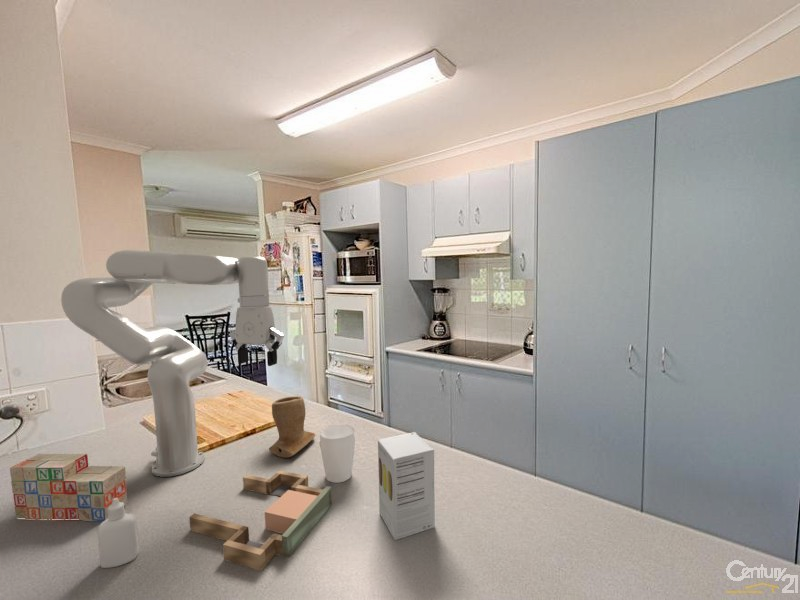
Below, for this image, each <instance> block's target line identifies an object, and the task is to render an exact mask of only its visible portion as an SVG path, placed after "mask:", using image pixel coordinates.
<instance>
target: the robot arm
mask: <svg viewBox="0 0 800 600" xmlns="http://www.w3.org/2000/svg"><path fill="white" fill-rule="evenodd" d="M105 266H106V270H107V272H108V274H109V275H110V276H111V277H86V278H85V277H84V278H80V279H77V280H74V281H71V282H70V283H68V284H67V285H66V286H65V287H64V288H63V290H62V292H61V297H60V298H61V299H60V302H61V306H62V310H63V312H64V315H66V318H67V319H68V320H69V321H70V322H71V323H73V325H75V326H76V327H77V328H79V329H80V330H82V331H83V332H84V333H86V334H88V335H90V336H91V337H92V338H95V339H96V340H97V341H98V342H101V343H102V344H103V345H104V346H105V347H106V348H108V349H110V350H111V351H113V352H114V353H115V354H117V355H118V356H119V357H121V358H122V359H124V360H125V361H127V362H128V363H130V364H133V365H136V366H139V365H140V366H141V365H146V364H148V363H152V364H151V365H150V366H149V368H148V371H147V382H148V385H149V389H150V392H151V395H152V402H153V411H154V422H155V423H154V424H155V435H156V436H155V437H156V447H155V450H152V451H151V453H150V455H151V456H152V457H155V459H156V462H154V463H153V465H152V466H151V472H152V474H153V476H155V477H159V476H160V477H161V478H166V477H169V478H170V477H174V476H179V475H183V474H186V473H188V472H191V471H193V470H194V469H196V468H198V467H200V466H201V465H202V463H203V462H204V461H205V454H204V452H203V451H201V452H199V453H198V451H199V446H198V434H197V432H198V431H197V430H198V429H197V418H196V403H195V397H194V392H193V391H192V389H191V387H190V382H192V381H193V380H195V379H197V378H198V377H200V376H202V375H203V374H204V373H205V372H206V370H207V369H208V363H209V362H208V358H207V355H206V354H205V353H204V351H202V350H201V349H200V348H199V347H198V346H196V345H195V344H194V343H192V341H189V340H188V339H186V338H185V337H184V336H183V335H181V334H180V333H178V332H177V331H176V330H174V329H172V328H170V327H167V326H163V325H162V326H161V325H157V326H156V325H155V326H152V327H142V326H141V325H139V324H137V323H135V322H133V321H132V319H130V318H128V317H127V316H125V314H121V313H119V312H116V311H115V310H112V309H110V308H115V307H122V306H126V305H128V304H130V303H131V302H133V301H134V300H135V299H137V298H138V297H139V296H141V294H142V293H144V292H145V291H146V290H147V289H149V288H150V287H151V286H152V285H153V284H167V285H169V284H171V285H174V284H181V285H184V284H186V285H203V286H221V285H234V284H238V294H239V296H238V298H237V303H239V307H237V309H236V315H235V329H234V330H232V332H230V333H229V337H230V339H231V341H232V344H233V345H234V346H235V350H237V356H238V357H237V359H238V361H237V362H238V365H243V364H245V363H248V362H249V348H248V347H247V346H248V345H252V346H255V345H256V346H261V345H264V346H265V347H266V349H267V350H268V351H266V359H267V366H268V367H271V366H275V365H277V364H278V351H277V350H279V348H280V347H281V345H282V344H283V341H284V338H285V334H284V333H283V332H280V331H279V330H277V329H276V324H275V318H274V314H273V311H272V310H273V309H272V307H271V306H270V294H269V292H270V291H269V290H270V289H269V271H268V261H267V259H266V258H265V257H263V256H242V257H232V256H224V255H223V256H222V255H209V254H188V253H187V254H185V253H184V254H183V253H176V252H172V251H155V250H154V251H153V250H152V251H151V250H150V251H149V250H131V249H127V250H123V249H122V250H119V251H115V252H114V253H112V254H110V255H109V256H108V258H107V259H106V263H105ZM200 464H201V465H200Z"/></svg>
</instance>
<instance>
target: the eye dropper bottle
mask: <svg viewBox="0 0 800 600" xmlns="http://www.w3.org/2000/svg"><path fill="white" fill-rule="evenodd" d="M125 507H126V506H125ZM125 507H124V503H123V502H119V500H118V498H114V499H113V503H112V505H111V506H109V507H108V519H106V520H105V521H101V523H100V525H99V526H98V529H97V539H98V540H97V541H98V550H99V551H98V553H99V563H100V567H101V568H102V569H107V568H114V567H119V566H122V565H125V564H127V563H129V562H132V561H134V560H135V559H136V558H137V557H138V555H139V552H140V546H139V533H138V532H139V531H138V521H137V516H136V515H135V514H133V513H126V509H125Z"/></svg>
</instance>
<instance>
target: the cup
mask: <svg viewBox="0 0 800 600" xmlns="http://www.w3.org/2000/svg"><path fill="white" fill-rule="evenodd" d="M319 437H320V438H319V447H320V448H319V449H320V452H321V459H322V463H323V469H324V474H325V479H326V480H327V481H328V482H331V483H335V484H336V483H337V484H338V483H342V482H345V481H348V480H349V479H350V478H351V477H352V475H353V465H354V456H355V448H356V447H355V445H356V437H355V428H354V427H353V426H352V425H349V424H339V423H337V424H331V425H329V426H325V427H324V428H322V429H321V430H320V434H319Z"/></svg>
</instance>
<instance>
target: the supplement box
mask: <svg viewBox="0 0 800 600" xmlns="http://www.w3.org/2000/svg"><path fill="white" fill-rule="evenodd" d="M377 451H378V452H377V455H378V456H377V459H378V464H377V465H378V467H377V468H378V507H379V508H378V509H379V514H380V515H381V518H382V520H383V521H384V523H385V525H386V527H387V528H388V530H389V532H390V534H391V536H392V538H393V539H394V541H398V540H400V539H403V538H407V537H409V536H413V535H415V534H419V533H421V532H424V531H428V530H431V529H434V528H435V525H436V523H435V521H436V519H435V517H436V513H435V512H436V507H435V449H434V448H433V447H431V446H430V445H429V444H428V443H427V442H425V440H423V438H421V436H420V435H419V434H418V433H417V432H415V431H412V432H409V433H404V434H403V433H402V434H400V435H399V434H398V435H394V436H389V437H383V438H379V439H378V440H377Z"/></svg>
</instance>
